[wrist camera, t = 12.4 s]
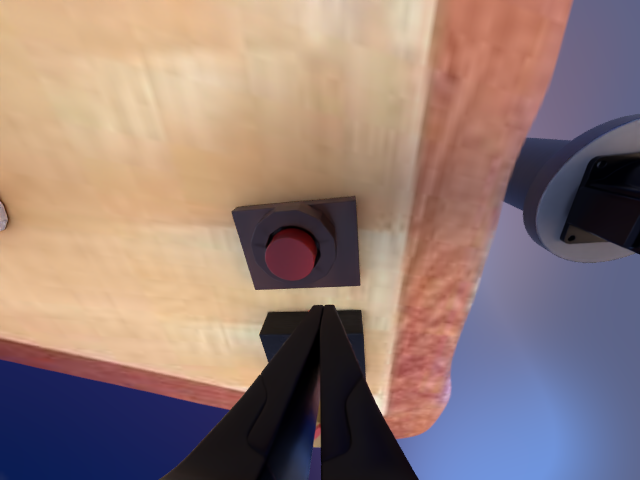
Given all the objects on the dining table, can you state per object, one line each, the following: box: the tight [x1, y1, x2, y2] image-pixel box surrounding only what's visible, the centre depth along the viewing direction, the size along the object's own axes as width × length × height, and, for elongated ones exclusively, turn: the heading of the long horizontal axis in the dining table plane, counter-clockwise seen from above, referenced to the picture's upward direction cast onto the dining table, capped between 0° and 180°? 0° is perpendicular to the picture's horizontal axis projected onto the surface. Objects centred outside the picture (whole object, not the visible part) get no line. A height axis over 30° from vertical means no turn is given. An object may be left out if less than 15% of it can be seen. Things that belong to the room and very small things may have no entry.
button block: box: [232, 196, 360, 290], centre depth 19 cm, size 10×8×3 cm
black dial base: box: [259, 310, 366, 380], centre depth 25 cm, size 10×11×3 cm
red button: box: [265, 228, 317, 281], centre depth 17 cm, size 4×4×2 cm
